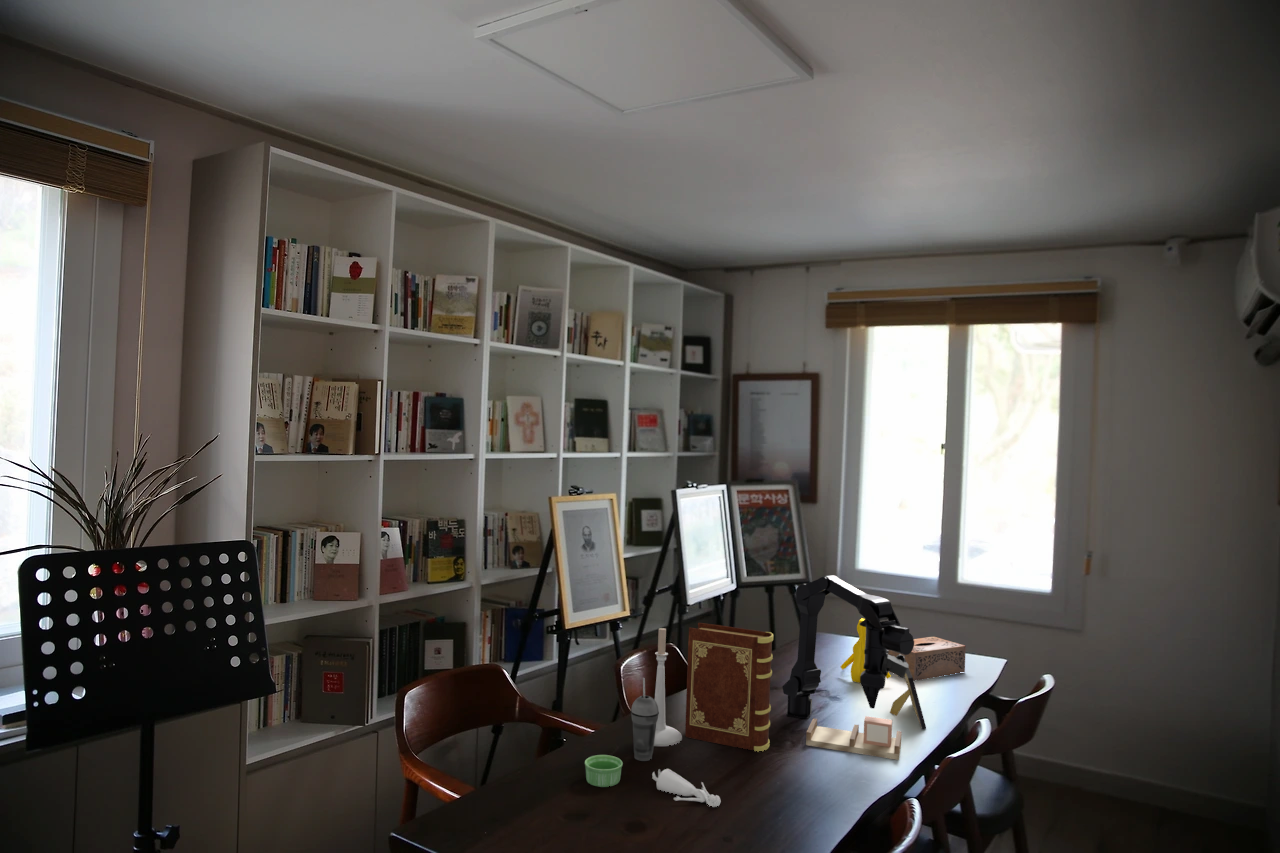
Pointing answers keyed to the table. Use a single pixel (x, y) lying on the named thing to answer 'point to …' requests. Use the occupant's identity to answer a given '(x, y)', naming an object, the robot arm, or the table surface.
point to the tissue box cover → (934, 658)
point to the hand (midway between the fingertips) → (873, 703)
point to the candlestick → (663, 699)
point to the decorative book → (729, 686)
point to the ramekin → (603, 770)
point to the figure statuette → (858, 655)
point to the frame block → (877, 731)
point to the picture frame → (914, 698)
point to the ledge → (850, 741)
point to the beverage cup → (644, 725)
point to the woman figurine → (683, 788)
